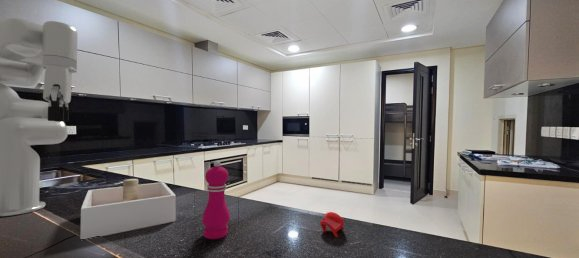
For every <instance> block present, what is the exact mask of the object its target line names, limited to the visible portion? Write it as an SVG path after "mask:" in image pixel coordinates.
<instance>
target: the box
mask: <svg viewBox="0 0 579 258" xmlns="http://www.w3.org/2000/svg"><path fill="white" fill-rule="evenodd" d="M176 199H177V195H176V194H175V193H174V192H173V190H172V189H170V187H168V185H167V184H166V183H165V182H164V181H161V182H153V183H143V184H142V183H141V184H138V200H133V201H126V202H123V186H117V187H114V186H113V187H105V188H97V189H88V191H87V193H86V195H85V198H84V200H83V202H82V205H81V208H80V235H79V237H80V238H79V239H86V238H90V237H95V236H100V237H103V236H104V237H105V236H111V235H114V234H120V233H124V232H129V231H134V230H140V229H144V228H148V227H154V226H158V225H162V224H163V225H164V224H169V223H173V222H176V217H177V216H176V209H177V206H176V205H177V202H176V201H177V200H176ZM95 238H96V237H95ZM90 239H91V238H90ZM86 240H87V239H86Z"/></svg>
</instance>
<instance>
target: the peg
mask: <svg viewBox="0 0 579 258" xmlns="http://www.w3.org/2000/svg"><path fill="white" fill-rule="evenodd" d="M138 185H139V178H129V179H124V180H122V187H123V202H126V201H133V200H138Z"/></svg>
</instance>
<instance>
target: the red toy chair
mask: <svg viewBox="0 0 579 258" xmlns="http://www.w3.org/2000/svg"><path fill="white" fill-rule="evenodd" d="M344 223H345V221H344V218H343V217H341V216H340V215H339V214H338V213H337V212H332V211H329V212H326V213H325V214H324V216H323V217H322V219H321V220H320V224H319V225H320V226H321V229H322V231H323V233H326V232H327V229H326V228H329V229H330V231H331V232H332V233H333V236H334V237H335V238H338V237H339V235H338V233H337V232H339V231H344Z"/></svg>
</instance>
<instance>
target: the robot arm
mask: <svg viewBox="0 0 579 258" xmlns="http://www.w3.org/2000/svg"><path fill="white" fill-rule="evenodd" d="M0 58H1V59H4V60H1V59H0V217H9V216H17V215H23V214H28V213H32V212H35V211H39V210H41V209H43V208H44V207H45V206H46V202H44V201H41V200H40V183H41V182H40V180H41V179H40V175H41V173H40V172H41V158H40V155H39V154H38V153H37V151H36V150H34V149H33V148H32V147H31V146H36V145H37V146H38V145H55V144H56V145H57V144H60V143H62V142H65V140H67V138H68V132H69V131H68V128H67V124H66V123H69V121H70V120H69V119H70V118H69V117H70V109H69V103H70V102H71V100H72V82H73V80H72V75H73V74H76V73H77V71H78V30H76V28H75V27H74V26H72V25H70V24H67V23H65V22H62V21H53V20H48V21H45V22H44V23H43V25H42V24H39V23H36V22H33V21H29V20H26V19H21V18H17V17H10V18H7V19H3V20H1V21H0ZM7 60H9V61H7ZM13 61H15V62H13ZM17 62H18V63H17ZM44 70H45V71H44ZM43 72H44V81H43V82H44V83H43V93H42V98H43V100H45V101H43V100H34V99H25V98H21V97H20V96H19V94H18V93H17V92H16V91H15V90H14V89H12V87H10V86H8V85H15V86H23V87H30V86H33V85H36V84H37V83H38V81H39V80H40V77H41V75H42V74H43ZM6 84H7V85H6ZM46 101H47V102H46Z"/></svg>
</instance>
